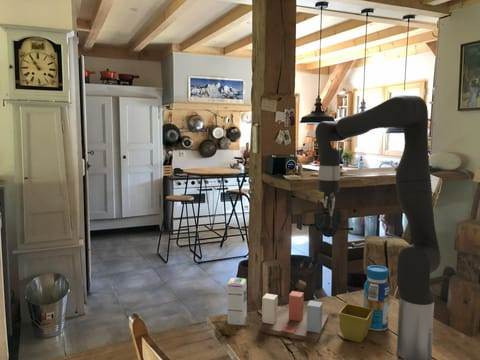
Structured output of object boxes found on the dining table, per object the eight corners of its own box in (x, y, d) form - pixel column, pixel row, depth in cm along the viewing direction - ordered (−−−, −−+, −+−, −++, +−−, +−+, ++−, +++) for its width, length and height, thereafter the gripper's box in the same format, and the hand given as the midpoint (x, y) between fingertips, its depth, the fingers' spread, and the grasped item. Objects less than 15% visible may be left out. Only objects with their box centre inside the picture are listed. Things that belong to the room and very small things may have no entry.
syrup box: (243, 325, 139) (244, 284, 137) (226, 324, 140) (226, 282, 139) (247, 318, 145) (247, 278, 143) (230, 316, 146) (230, 276, 144)
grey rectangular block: (321, 327, 134) (322, 302, 133) (319, 333, 130) (319, 307, 129) (309, 325, 136) (310, 300, 135) (306, 330, 132) (307, 305, 131)
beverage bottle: (357, 321, 142) (359, 265, 140) (378, 318, 144) (381, 263, 142) (371, 333, 134) (373, 273, 132) (393, 330, 136) (396, 271, 134)
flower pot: (372, 335, 133) (373, 308, 132) (366, 347, 125) (367, 319, 124) (345, 328, 137) (346, 302, 136) (337, 340, 130) (338, 312, 128)
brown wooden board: (328, 318, 144) (328, 313, 144) (316, 343, 128) (316, 337, 128) (276, 309, 152) (276, 304, 151) (258, 331, 135) (259, 325, 135)
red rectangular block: (303, 316, 142) (303, 292, 141) (300, 321, 138) (300, 296, 137) (291, 314, 144) (292, 290, 143) (288, 319, 140) (289, 295, 139)
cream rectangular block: (277, 319, 140) (277, 295, 139) (273, 324, 136) (273, 299, 135) (266, 317, 141) (266, 293, 140) (262, 322, 138) (262, 297, 137)
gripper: (336, 180, 139) (335, 231, 141) (342, 176, 152) (341, 223, 154) (314, 179, 142) (313, 229, 144) (322, 176, 154) (321, 221, 156)
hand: (327, 226), depth 149 cm, fingers closed
